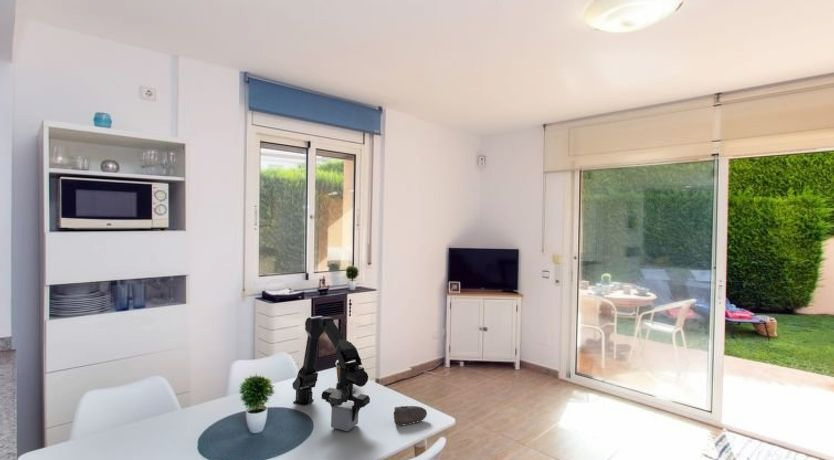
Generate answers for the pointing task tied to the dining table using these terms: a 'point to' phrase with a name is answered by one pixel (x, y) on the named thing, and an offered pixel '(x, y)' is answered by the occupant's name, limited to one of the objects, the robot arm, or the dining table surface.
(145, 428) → the dining table surface
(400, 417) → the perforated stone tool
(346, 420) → the grey cube
